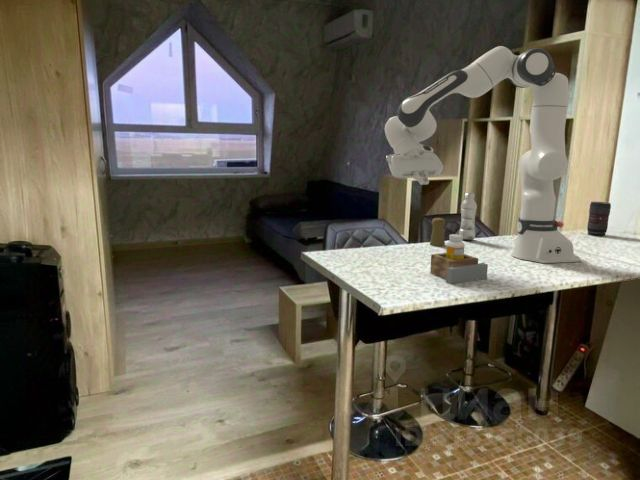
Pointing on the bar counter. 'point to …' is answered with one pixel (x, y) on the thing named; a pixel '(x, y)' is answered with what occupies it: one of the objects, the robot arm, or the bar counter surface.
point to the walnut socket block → (448, 263)
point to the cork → (437, 232)
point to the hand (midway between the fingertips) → (425, 183)
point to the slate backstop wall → (466, 273)
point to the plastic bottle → (468, 217)
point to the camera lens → (598, 218)
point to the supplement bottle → (455, 247)
